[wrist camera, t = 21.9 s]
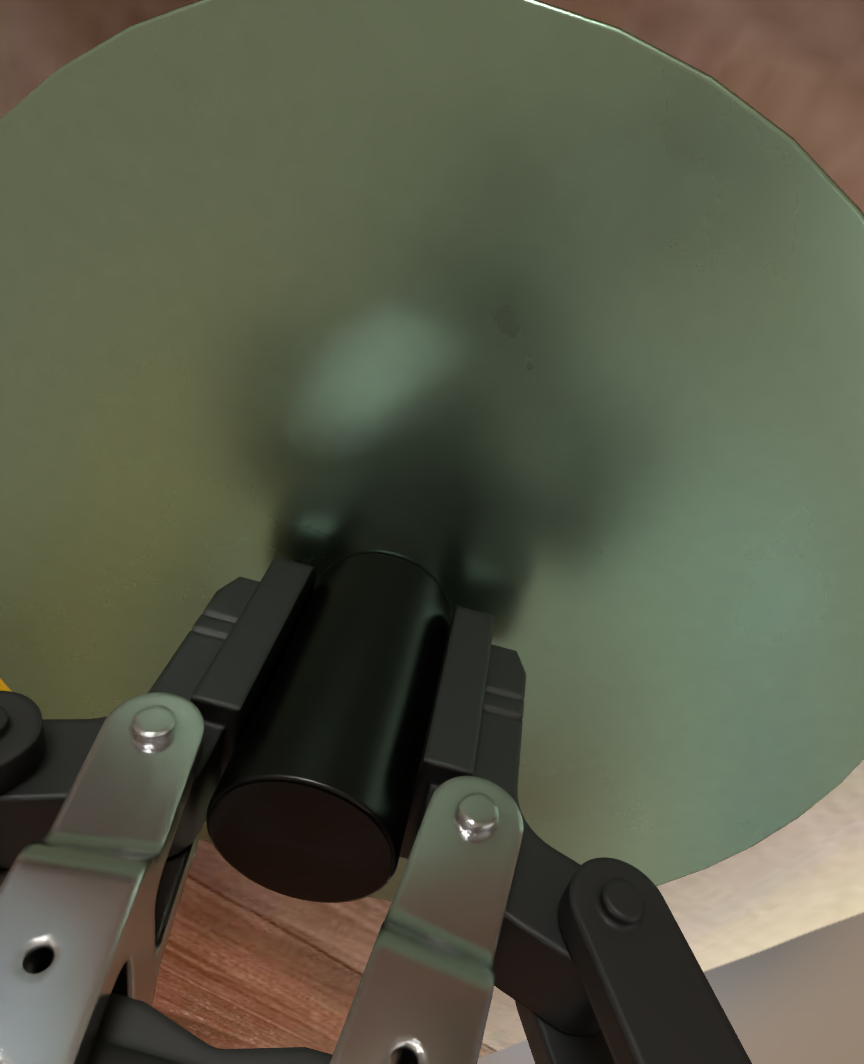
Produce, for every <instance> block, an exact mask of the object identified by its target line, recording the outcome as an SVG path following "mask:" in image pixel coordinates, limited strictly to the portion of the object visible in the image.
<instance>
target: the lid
mask: <svg viewBox="0 0 864 1064" xmlns="http://www.w3.org/2000/svg"><path fill="white" fill-rule="evenodd" d="M276 557H278V558H282V559H286V560H290V561H293V562H297V563H301V564H305V565H308V566H312V567H315V568H316V578H315V585H314V592H313V594H312V596H311V598H310V600H309V602H308V604H307V606H306V608H305V610H304V612H303V614H302V616H301V618H300V620H299V622H298V624H297V626H296V628H295V630H294V632H293V634H292V636H291V638H290V640H289V642H288V644H287V646H286V648H285V650H284V652H283V654H282V656H281V658H280V660H279V662H278V664H277V666H276V668H275V670H274V672H273V674H272V676H271V678H270V680H269V683H268V685H267V687H266V689H265V691H264V693H263V695H262V697H261V699H260V701H259V703H258V705H257V707H256V709H255V711H254V713H253V715H252V717H251V719H250V721H249V723H248V725H247V727H246V729H245V731H244V733H243V735H242V737H241V739H240V741H239V743H238V745H237V747H236V749H235V751H234V753H233V755H232V757H231V759H230V761H229V763H228V765H227V767H226V769H225V771H224V773H223V775H222V777H221V780H220V782H219V784H218V786H217V788H216V790H215V792H214V794H213V796H212V798H211V800H210V802H209V805H208V807H207V813H206V821H205V823H204V825H203V827H202V829H201V831H200V833H199V838H201V839H203V840H205V841H207V842H209V843H211V844H213V845H214V846H215V848H216V849H217V851H218V852H219V853H220V855H221V856H222V857H223V858H224V859H225V860H226V861H227V862H228V863H229V864H230V865H231V866H232V867H233V868H235V869H236V870H237V871H238V872H240V873H241V874H242V875H244V876H245V877H247V878H248V879H250V880H252V881H253V882H255V883H257V884H259V885H261V886H263V887H265V888H267V889H269V890H272V891H274V892H277V893H279V894H282V895H286V896H289V897H292V898H296V899H301V900H306V901H312V902H322V903H340V902H349V901H355V900H359V899H362V898H365V897H372V898H378V899H384V900H391V901H392V900H393V898H394V895H395V893H396V890H397V887H398V885H399V882H400V879H401V877H402V874H403V871H404V869H405V866H406V863H407V860H408V859H406V858H402V857H400V852H401V848H402V843H403V839H404V834H405V830H406V825H407V820H408V816H409V811H410V806H411V799H412V794H413V790H414V785H415V781H416V776H417V772H418V767H419V763H420V758H421V754H422V749H423V745H424V740H425V735H426V731H427V726H428V722H429V717H430V713H431V708H432V704H433V699H434V695H435V690H436V686H437V681H438V677H439V672H440V667H441V663H442V658H443V654H444V649H445V645H446V640H447V636H448V631H449V628H450V624H451V621H452V617H453V614H454V611H455V608H456V605H457V606H461V607H464V608H468V609H472V610H476V611H479V612H483V613H487V614H491V615H494V616H495V622H494V629H493V636H492V643H491V644H492V645H496V646H500V647H504V648H507V649H511V650H515V651H517V653H518V656H519V658H520V660H521V663H522V665H523V667H524V670H525V672H526V686H525V698H524V712H523V719H522V721H523V726H522V739H521V752H520V765H519V778H518V802H519V806H520V809H521V812H522V814H523V816H524V818H525V820H526V822H527V823H528V825H529V826H530V827H531V829H532V830H533V831H534V832H535V833H536V834H537V836H538V837H540V838H541V839H542V840H543V841H544V842H545V843H547V844H548V845H550V846H551V847H553V848H554V849H556V850H557V851H559V852H561V853H562V854H564V855H565V856H567V857H569V858H570V859H572V860H574V861H575V862H577V863H579V864H580V865H582V864H583V863H584V862H586V861H588V860H591V859H594V858H601V857H607V858H614V859H618V860H621V861H624V862H626V863H629V864H630V865H632V866H634V867H636V868H637V869H639V870H640V871H641V872H642V873H644V874H645V875H646V876H647V877H648V878H649V879H650V880H651V881H652V882H653V883H654V885H655V886H658V885H661V884H664V883H667V882H670V881H672V880H675V879H678V878H681V877H684V876H686V875H689V874H692V873H695V872H697V871H700V870H703V869H706V868H708V867H710V866H712V865H714V864H716V863H719V862H721V861H723V860H725V859H727V858H729V857H731V856H733V855H735V854H737V853H739V852H741V851H743V850H746V849H748V848H750V847H752V846H754V845H755V844H757V843H759V842H760V841H762V840H763V839H765V838H767V837H768V836H770V835H771V834H773V833H775V832H776V831H778V830H779V829H781V828H783V827H784V826H786V825H787V824H789V823H791V822H792V821H794V820H795V819H797V818H798V817H800V816H801V815H802V814H803V813H805V812H806V811H807V810H808V809H810V808H811V807H812V806H813V805H815V804H816V803H817V802H818V801H819V800H821V799H822V798H823V797H824V796H826V795H827V794H828V793H829V792H831V791H832V790H833V789H834V788H835V787H837V786H838V785H839V784H840V783H841V782H842V781H843V780H844V779H845V778H846V777H847V776H848V775H849V774H850V773H851V772H852V771H853V770H854V769H855V768H856V767H857V766H858V764H859V763H860V762H861V761H862V760H863V759H864V214H863V213H862V211H861V210H860V208H859V207H858V206H857V205H856V204H855V203H854V202H853V201H852V200H851V199H850V198H849V197H848V196H847V195H846V193H845V192H844V191H843V190H842V189H841V188H840V187H839V186H838V185H837V184H836V183H835V182H834V181H833V180H832V179H831V178H830V176H829V175H828V174H827V173H826V172H825V171H824V170H823V169H822V168H821V167H820V166H819V165H818V164H817V163H816V162H815V161H814V160H813V158H812V157H811V156H810V155H809V154H808V153H807V152H806V151H805V150H804V149H803V148H802V147H801V146H800V145H799V144H798V143H797V142H796V140H795V139H794V138H792V137H791V136H790V135H788V134H787V133H786V132H784V131H783V130H782V129H781V128H779V127H778V126H777V125H775V124H774V123H773V122H771V121H770V120H769V119H767V118H766V117H765V116H763V115H762V114H761V113H759V112H758V111H757V110H755V109H754V108H753V107H751V106H750V105H749V104H748V103H746V102H745V101H744V100H742V99H741V98H740V97H738V96H737V95H736V94H734V93H733V92H732V91H730V90H729V89H728V88H726V87H725V86H724V85H722V84H721V83H720V82H718V81H717V80H716V79H715V78H713V77H712V76H710V75H708V74H706V73H704V72H702V71H700V70H698V69H697V68H695V67H693V66H691V65H689V64H687V63H685V62H683V61H681V60H680V59H678V58H676V57H674V56H672V55H670V54H668V53H666V52H664V51H662V50H661V49H659V48H657V47H655V46H653V45H651V44H649V43H647V42H645V41H644V40H642V39H640V38H638V37H636V36H634V35H632V34H630V33H628V32H626V31H625V30H623V29H621V28H619V27H616V26H613V25H610V24H607V23H604V22H601V21H598V20H595V19H592V18H589V17H586V16H583V15H580V14H577V13H574V12H571V11H568V10H565V9H562V8H559V7H556V6H553V5H550V4H547V3H544V2H541V1H538V0H200V1H197V2H194V3H192V4H189V5H186V6H183V7H181V8H178V9H175V10H172V11H170V12H167V13H164V14H161V15H159V16H156V17H153V18H150V19H148V20H145V21H142V22H140V23H137V24H134V25H131V26H130V27H128V28H126V29H125V30H123V31H121V32H119V33H118V34H116V35H114V36H113V37H111V38H109V39H108V40H106V41H104V42H102V43H101V44H99V45H97V46H96V47H94V48H92V49H91V50H89V51H87V52H85V53H84V54H82V55H80V56H79V57H77V58H75V59H74V60H72V61H70V62H68V63H67V64H65V65H63V66H62V67H60V68H58V69H57V70H56V71H55V72H54V73H53V74H51V75H50V76H49V77H48V78H47V79H46V80H44V81H43V82H42V83H41V84H40V85H39V86H38V87H36V88H35V89H34V90H33V91H32V92H31V93H30V94H28V95H27V96H26V97H25V98H24V99H23V100H22V101H20V102H19V103H18V104H17V105H16V106H15V107H13V108H12V109H11V110H10V111H9V112H8V113H7V114H5V115H4V116H3V117H2V118H1V119H0V678H1V679H2V681H3V682H4V683H5V684H6V685H7V686H8V688H9V689H10V690H11V691H12V692H16V693H19V694H22V695H24V696H27V697H29V698H30V699H31V700H33V701H34V702H35V703H36V704H37V706H38V707H39V709H40V711H41V714H42V719H94V718H101V717H106V716H108V715H109V714H110V713H111V712H112V711H113V709H115V708H116V707H117V706H118V705H120V704H121V703H123V702H124V701H126V700H128V699H130V698H133V697H135V696H138V695H142V694H146V693H148V691H149V690H150V689H151V687H152V686H153V685H154V683H155V682H156V680H157V679H158V677H159V676H160V674H161V673H162V671H163V670H164V668H165V667H166V665H167V664H168V662H169V661H170V659H171V658H172V656H173V655H174V653H175V652H176V651H177V649H178V648H179V646H180V645H181V643H182V642H183V640H184V639H185V637H186V636H187V634H188V633H189V631H192V628H193V625H194V624H195V622H196V621H197V620H198V618H199V617H200V615H201V614H203V611H204V609H205V608H206V606H207V605H208V603H209V602H210V600H211V599H212V597H213V596H214V594H215V593H216V591H217V590H219V589H221V588H222V587H224V586H225V585H227V584H229V583H230V582H232V581H233V580H235V579H237V578H238V577H244V578H248V579H251V580H255V581H259V582H260V581H261V579H262V578H263V576H264V574H265V573H266V571H267V569H268V568H269V566H270V564H271V563H272V561H273V560H274V559H275V558H276Z"/></svg>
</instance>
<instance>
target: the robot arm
mask: <svg viewBox="0 0 864 1064" xmlns="http://www.w3.org/2000/svg"><path fill="white" fill-rule="evenodd" d="M315 578H316V568H315V567H312V566H308V565H305V564H301V563H297V562H293V561H290V560H286V559H282V558H278V557H276V558H275V559H274V560H273V561H272V563H271V564H270V566H269V568H268V569H267V571H266V573H265V574H264V576H263V578H262V579H261V581H260V582H259V581H255V580H251V579H248V578H244V577H238V578H237V579H235V580H233V581H232V582H230V583H229V584H227V585H225V586H224V587H222V588H221V589H219V590H217V591H216V593H215V594H214V596H213V597H212V599H211V600H210V602H209V603H208V605H207V606H206V608H205V609H204V611H203V614H201V615H200V617H199V618H198V620H197V621H196V622H195V624H194V625H193V628H192V631H189V633H188V634H187V636H186V637H185V639H184V640H183V642H182V643H181V645H180V646H179V648H178V649H177V651H176V652H175V653H174V655H173V656H172V658H171V659H170V661H169V662H168V664H167V665H166V667H165V668H164V670H163V671H162V673H161V674H160V676H159V677H158V679H157V680H156V682H155V683H154V685H153V686H152V687H151V689H150V690H149V691H148V693H146V694H142V695H138V696H135V697H133V698H130V699H128V700H126V701H124V702H123V703H121V704H120V705H118V706H117V707H116V708H115V709H113V711H112V712H111V713H110V714H109V715H108V716H106V717H101V718H94V719H42V714H41V711H40V709H39V707H38V706H37V704H36V703H35V702H34V701H33V700H31V699H30V698H29V697H27V696H24V695H22V694H19V693H16V692H11V691H0V1064H477V1061H478V1056H479V1052H480V1048H481V1043H482V1039H483V1034H484V1030H485V1025H486V1021H487V1017H488V1012H489V1008H490V1003H491V999H492V994H493V989H494V986H496V987H497V988H499V989H500V990H501V991H503V992H504V993H506V994H507V995H509V996H510V997H511V998H513V999H514V1000H515V1002H516V1006H517V1010H518V1013H519V1016H520V1019H521V1022H522V1025H523V1028H524V1031H525V1034H526V1037H527V1040H528V1043H529V1046H530V1049H531V1052H532V1055H533V1057H534V1061H535V1064H752V1063H751V1061H750V1059H749V1057H748V1055H747V1054H746V1052H745V1050H744V1048H743V1046H742V1044H741V1042H740V1040H739V1039H738V1037H737V1035H736V1033H735V1031H734V1029H733V1027H732V1025H731V1024H730V1022H729V1020H728V1018H727V1016H726V1014H725V1012H724V1010H723V1008H722V1007H721V1005H720V1003H719V1001H718V999H717V997H716V996H715V994H714V992H713V990H712V988H711V986H710V984H709V982H708V980H707V979H706V977H705V975H704V973H703V971H702V969H701V967H700V965H699V964H698V962H697V960H696V958H695V956H694V954H693V952H692V950H691V949H690V947H689V945H688V943H687V941H686V939H685V937H684V935H683V934H682V932H681V930H680V928H679V926H678V924H677V922H676V920H675V919H674V917H673V915H672V913H671V911H670V909H669V907H668V905H667V904H666V902H665V900H664V898H663V896H662V895H661V893H660V891H659V890H658V888H657V887H656V886H655V885H654V883H653V882H652V881H651V880H650V879H649V878H648V877H647V876H646V875H645V874H644V873H642V872H641V871H640V870H639V869H637V868H636V867H634V866H632V865H630V864H629V863H626V862H624V861H621V860H618V859H614V858H607V857H601V858H594V859H591V860H588V861H586V862H584V863H583V864H582V865H580V864H579V863H577V862H575V861H574V860H572V859H570V858H569V857H567V856H565V855H564V854H562V853H561V852H559V851H557V850H556V849H554V848H553V847H551V846H550V845H548V844H547V843H545V842H544V841H543V840H542V839H541V838H540V837H538V836H537V834H536V833H535V832H534V831H533V830H532V829H531V827H530V826H529V825H528V823H527V822H526V820H525V818H524V816H523V814H522V812H521V809H520V806H519V802H518V778H519V765H520V752H521V739H522V726H523V721H522V719H523V712H524V698H525V686H526V672H525V670H524V667H523V665H522V663H521V660H520V658H519V656H518V653H517V651H515V650H511V649H507V648H504V647H500V646H496V645H492V644H491V643H492V636H493V629H494V622H495V616H494V615H491V614H487V613H483V612H479V611H476V610H472V609H468V608H464V607H461V606H457V605H456V608H455V611H454V614H453V617H452V621H451V624H450V628H449V631H448V636H447V640H446V645H445V649H444V654H443V658H442V663H441V667H440V672H439V677H438V681H437V686H436V690H435V695H434V699H433V704H432V708H431V713H430V717H429V722H428V726H427V731H426V735H425V740H424V745H423V749H422V754H421V758H420V763H419V767H418V772H417V776H416V781H415V785H414V790H413V794H412V799H411V806H410V811H409V816H408V820H407V825H406V830H405V834H404V839H403V843H402V848H401V852H400V857H402V858H406V859H408V860H407V863H406V866H405V869H404V871H403V874H402V877H401V879H400V882H399V885H398V887H397V890H396V893H395V895H394V898H393V900H392V903H391V906H390V908H389V911H388V914H387V916H386V919H385V921H384V922H383V924H382V926H381V929H380V931H379V934H378V936H377V939H376V942H375V944H374V947H373V950H372V952H371V955H370V957H369V960H368V963H367V965H366V968H365V971H364V973H363V976H362V979H361V981H360V984H359V986H358V989H357V992H356V994H355V997H354V1000H353V1002H352V1005H351V1008H350V1010H349V1013H348V1015H347V1018H346V1021H345V1023H344V1026H343V1029H342V1031H341V1034H340V1037H339V1039H338V1042H337V1045H336V1047H335V1050H334V1052H333V1055H331V1054H328V1053H324V1052H321V1051H317V1050H313V1049H310V1048H306V1047H294V1048H254V1049H218V1048H214V1047H212V1046H210V1045H208V1044H207V1043H205V1042H204V1041H202V1040H201V1039H199V1038H198V1037H196V1036H195V1035H193V1034H192V1033H190V1032H189V1031H187V1030H186V1029H184V1028H183V1027H181V1026H180V1025H178V1024H177V1023H175V1022H174V1021H172V1020H171V1019H169V1018H168V1017H166V1016H165V1015H163V1014H162V1013H160V1012H159V1011H157V1010H156V1009H154V1008H153V1007H152V1004H153V999H154V994H155V989H156V982H157V977H158V972H159V968H160V964H161V960H162V957H163V953H164V950H165V947H166V944H167V941H168V937H169V934H170V931H171V928H172V925H173V921H174V918H175V915H176V912H177V909H178V905H179V902H180V899H181V896H182V893H183V889H184V886H185V883H186V880H187V877H188V873H189V870H190V867H191V864H192V861H193V857H194V854H195V851H196V848H197V844H198V839H199V833H200V831H201V829H202V827H203V825H204V823H205V821H206V813H207V807H208V805H209V802H210V800H211V798H212V796H213V794H214V792H215V790H216V788H217V786H218V784H219V782H220V780H221V777H222V775H223V773H224V771H225V769H226V767H227V765H228V763H229V761H230V759H231V757H232V755H233V753H234V751H235V749H236V747H237V745H238V743H239V741H240V739H241V737H242V735H243V733H244V731H245V729H246V727H247V725H248V723H249V721H250V719H251V717H252V715H253V713H254V711H255V709H256V707H257V705H258V703H259V701H260V699H261V697H262V695H263V693H264V691H265V689H266V687H267V685H268V683H269V680H270V678H271V676H272V674H273V672H274V670H275V668H276V666H277V664H278V662H279V660H280V658H281V656H282V654H283V652H284V650H285V648H286V646H287V644H288V642H289V640H290V638H291V636H292V634H293V632H294V630H295V628H296V626H297V624H298V622H299V620H300V618H301V616H302V614H303V612H304V610H305V608H306V606H307V604H308V602H309V600H310V598H311V596H312V594H313V592H314V585H315Z"/></svg>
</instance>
